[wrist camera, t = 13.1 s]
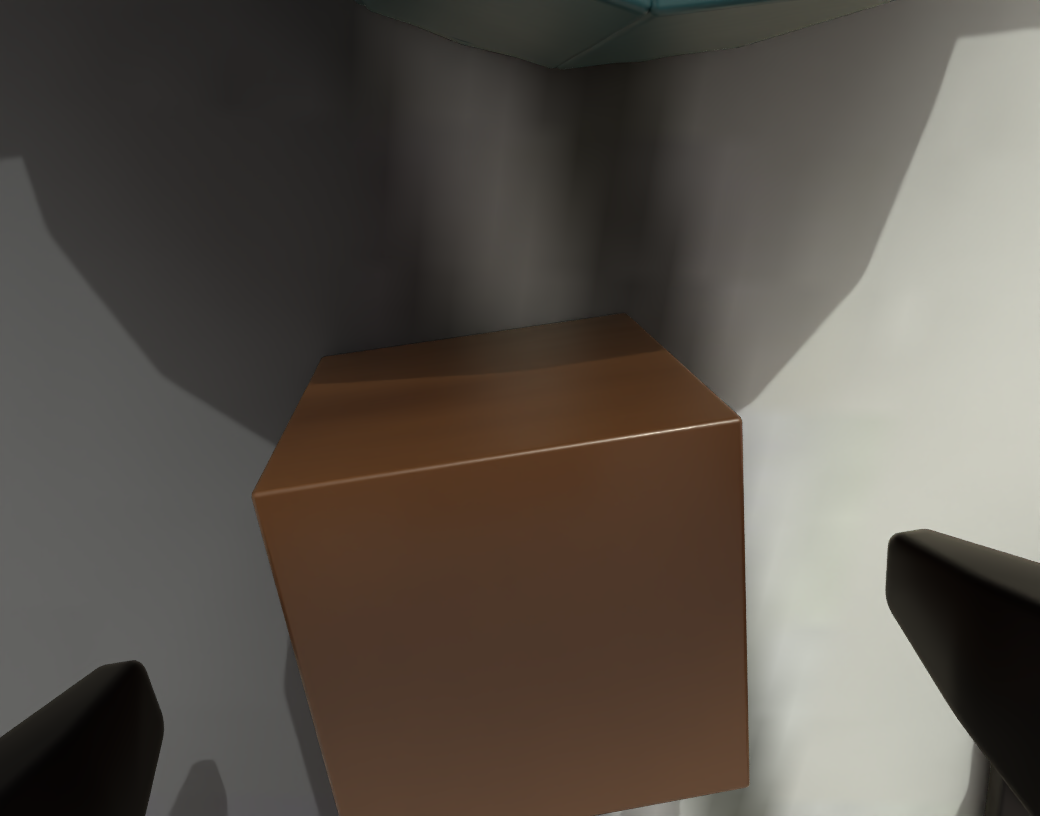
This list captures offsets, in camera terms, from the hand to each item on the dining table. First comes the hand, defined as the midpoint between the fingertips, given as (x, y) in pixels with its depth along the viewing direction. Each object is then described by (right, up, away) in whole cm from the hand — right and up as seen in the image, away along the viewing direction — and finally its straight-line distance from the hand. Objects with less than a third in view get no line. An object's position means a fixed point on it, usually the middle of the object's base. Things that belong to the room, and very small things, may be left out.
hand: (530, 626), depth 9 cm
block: (-1, +1, +4) cm, 4 cm away
